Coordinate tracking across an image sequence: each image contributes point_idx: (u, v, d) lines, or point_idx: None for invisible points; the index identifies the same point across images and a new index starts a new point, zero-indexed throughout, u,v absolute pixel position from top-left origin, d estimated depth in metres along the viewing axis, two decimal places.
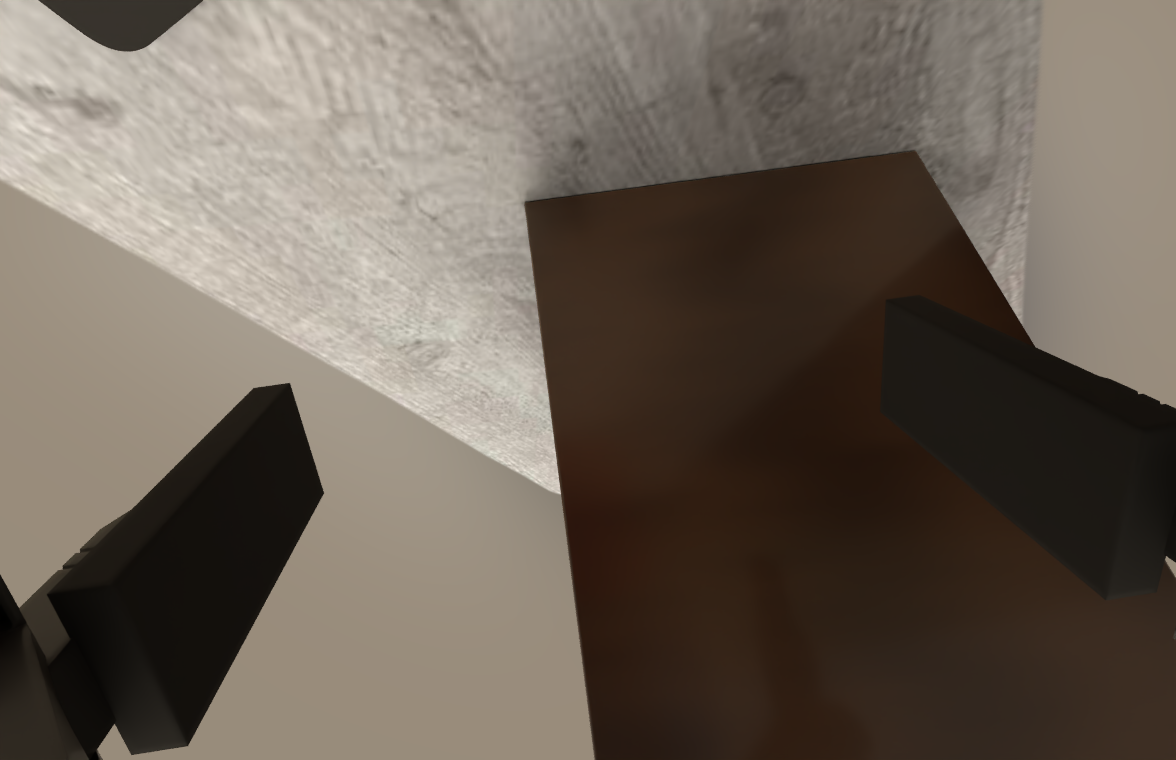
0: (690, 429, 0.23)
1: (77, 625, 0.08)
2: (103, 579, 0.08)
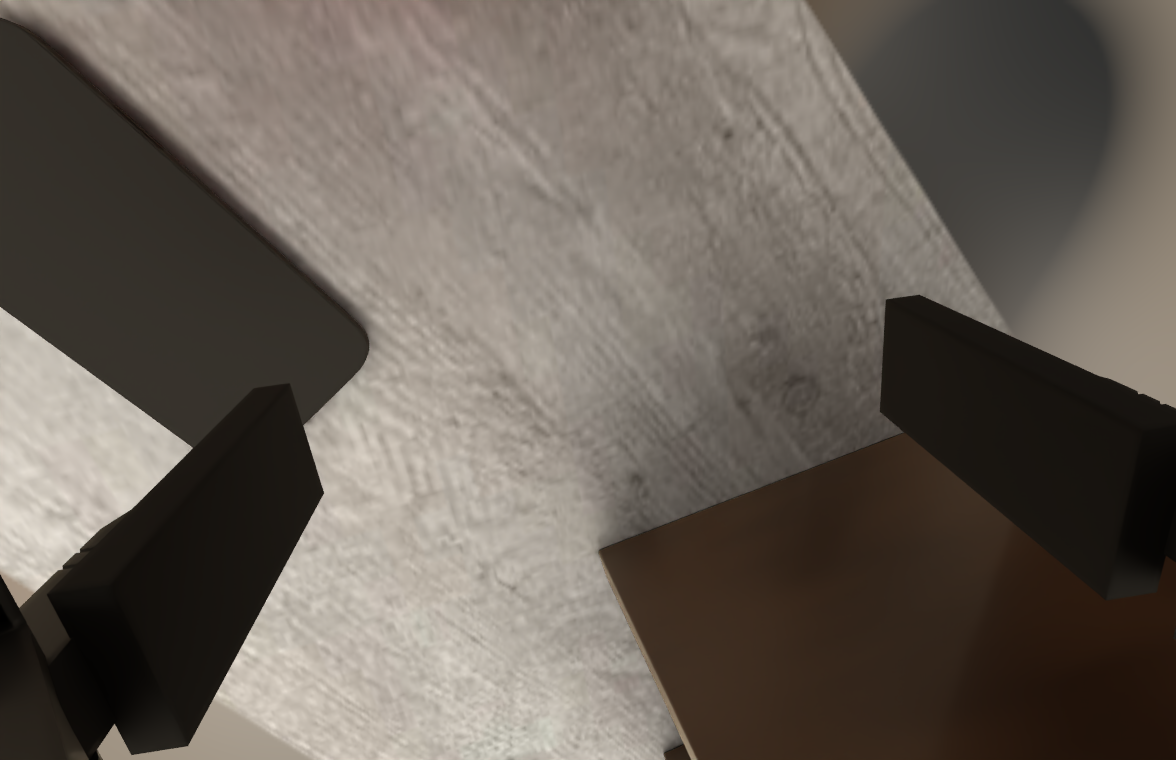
0: (855, 706, 0.19)
1: (77, 625, 0.08)
2: (103, 579, 0.08)
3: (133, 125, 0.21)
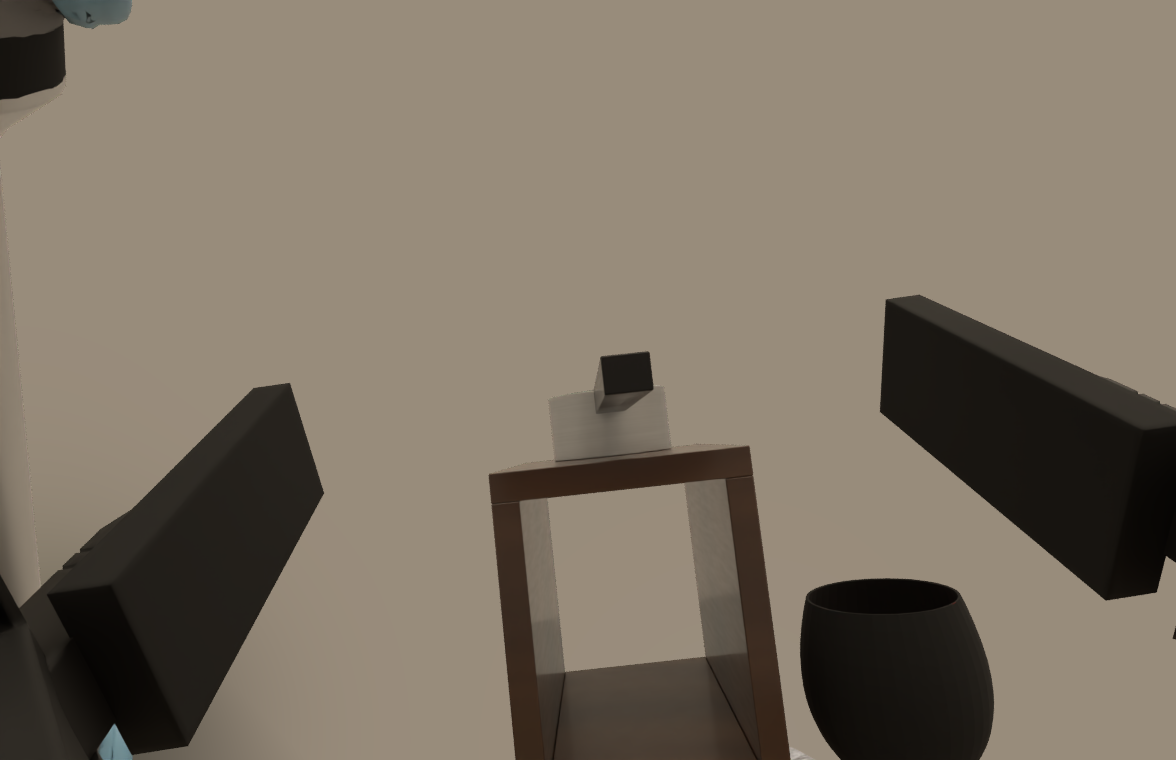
0: None
1: (77, 625, 0.08)
2: (103, 579, 0.08)
3: None
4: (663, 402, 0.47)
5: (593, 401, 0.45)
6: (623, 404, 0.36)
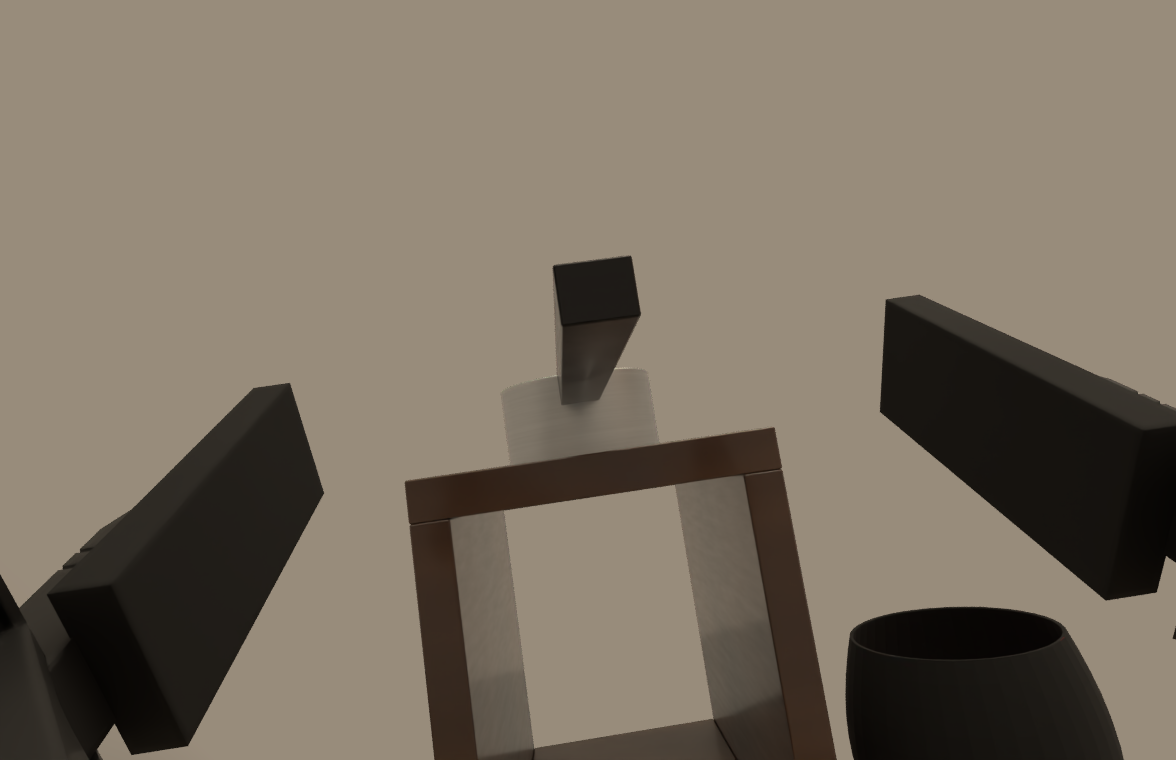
0: None
1: (77, 625, 0.08)
2: (104, 579, 0.08)
3: None
4: (648, 390, 0.37)
5: (557, 389, 0.34)
6: (595, 375, 0.25)
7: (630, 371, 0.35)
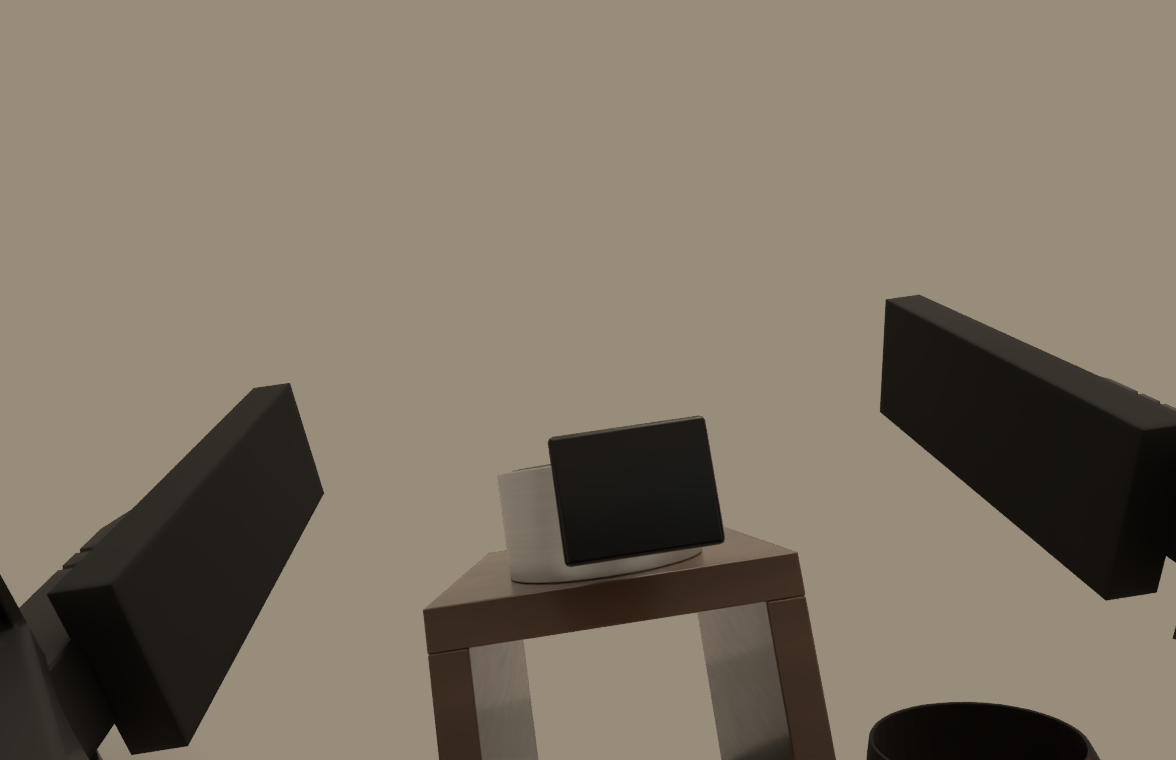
0: None
1: (77, 625, 0.08)
2: (104, 579, 0.08)
3: None
4: None
5: None
6: None
7: None
